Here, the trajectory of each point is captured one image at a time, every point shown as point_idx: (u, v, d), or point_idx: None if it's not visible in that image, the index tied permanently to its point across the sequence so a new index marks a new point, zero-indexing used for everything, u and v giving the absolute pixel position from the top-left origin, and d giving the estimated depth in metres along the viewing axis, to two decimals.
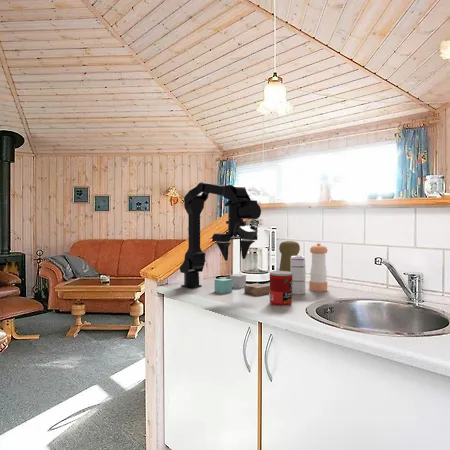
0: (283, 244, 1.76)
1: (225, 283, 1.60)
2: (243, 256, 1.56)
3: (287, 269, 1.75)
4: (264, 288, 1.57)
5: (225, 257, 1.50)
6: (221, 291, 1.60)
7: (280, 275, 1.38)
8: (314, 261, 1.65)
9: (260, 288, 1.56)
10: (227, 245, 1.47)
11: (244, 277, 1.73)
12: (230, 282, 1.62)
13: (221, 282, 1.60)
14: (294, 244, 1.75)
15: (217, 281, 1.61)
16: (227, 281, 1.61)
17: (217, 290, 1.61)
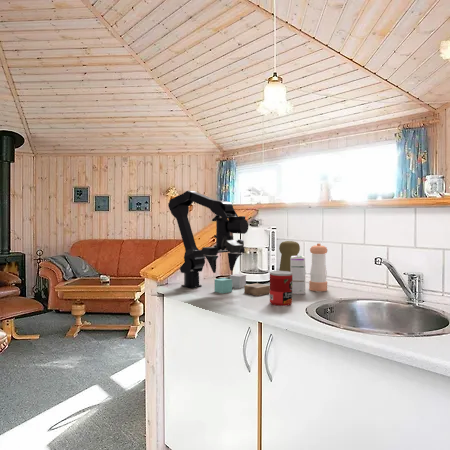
0: (283, 244, 1.76)
1: (225, 283, 1.60)
2: (231, 268, 1.65)
3: (287, 269, 1.75)
4: (264, 288, 1.57)
5: (213, 269, 1.59)
6: (221, 291, 1.60)
7: (280, 275, 1.38)
8: (314, 261, 1.65)
9: (260, 288, 1.56)
10: (215, 258, 1.57)
11: (244, 277, 1.73)
12: (230, 282, 1.62)
13: (221, 282, 1.60)
14: (294, 244, 1.75)
15: (217, 281, 1.61)
16: (227, 281, 1.61)
17: (217, 290, 1.61)
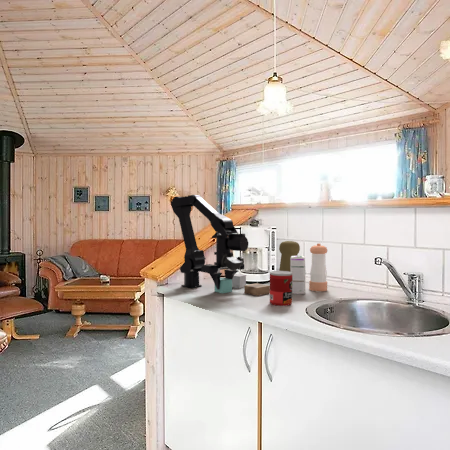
0: (283, 244, 1.76)
1: (225, 283, 1.60)
2: None
3: (287, 269, 1.75)
4: (264, 288, 1.57)
5: (217, 286, 1.60)
6: (221, 291, 1.60)
7: (280, 275, 1.38)
8: (314, 261, 1.65)
9: (260, 288, 1.56)
10: (219, 275, 1.58)
11: (244, 277, 1.73)
12: (230, 282, 1.62)
13: (220, 281, 1.60)
14: (294, 244, 1.75)
15: None
16: (227, 281, 1.61)
17: (217, 290, 1.61)
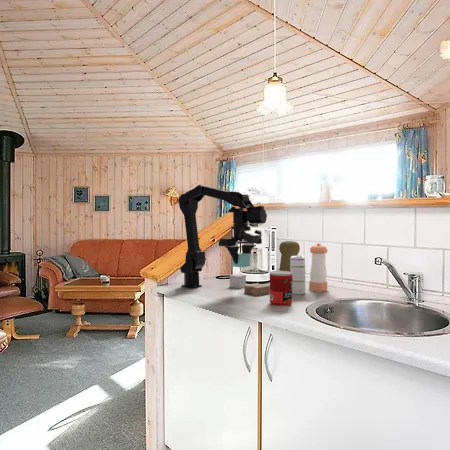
0: (283, 244, 1.76)
1: (243, 257, 1.58)
2: None
3: (287, 269, 1.75)
4: (264, 288, 1.57)
5: (235, 260, 1.58)
6: (239, 265, 1.57)
7: (280, 275, 1.38)
8: (314, 261, 1.65)
9: (260, 288, 1.56)
10: (237, 249, 1.56)
11: (244, 277, 1.73)
12: (248, 256, 1.59)
13: (238, 255, 1.58)
14: (294, 244, 1.75)
15: None
16: (245, 255, 1.58)
17: (235, 264, 1.59)
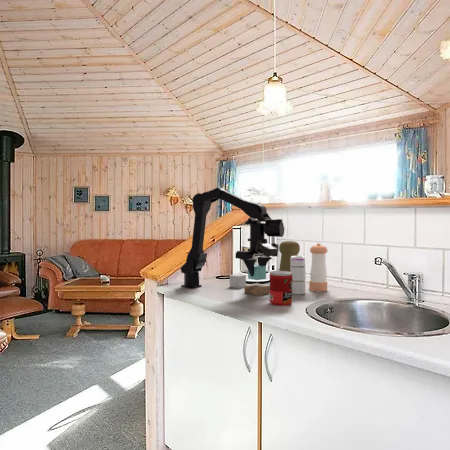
0: (283, 244, 1.76)
1: (259, 269, 1.57)
2: None
3: (287, 269, 1.75)
4: (264, 288, 1.57)
5: (251, 273, 1.57)
6: (255, 278, 1.57)
7: (280, 275, 1.38)
8: (314, 261, 1.65)
9: (260, 288, 1.56)
10: (253, 262, 1.55)
11: (244, 277, 1.73)
12: (264, 269, 1.59)
13: (255, 268, 1.57)
14: (294, 244, 1.75)
15: None
16: (261, 267, 1.58)
17: (251, 277, 1.58)
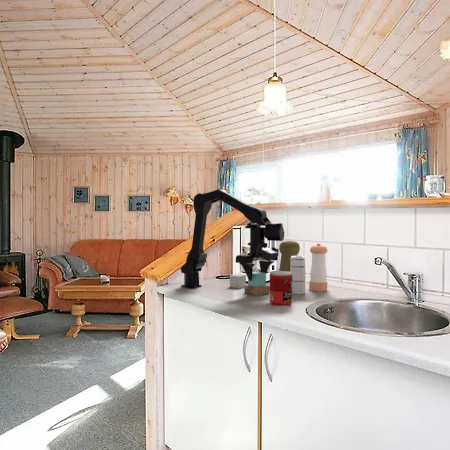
0: (283, 244, 1.76)
1: (259, 276, 1.57)
2: None
3: (287, 269, 1.75)
4: (264, 288, 1.57)
5: (249, 277, 1.57)
6: (255, 285, 1.57)
7: (280, 275, 1.38)
8: (314, 261, 1.65)
9: (260, 288, 1.56)
10: (251, 266, 1.54)
11: (244, 277, 1.73)
12: (264, 276, 1.59)
13: (255, 275, 1.57)
14: (294, 244, 1.75)
15: None
16: (261, 274, 1.58)
17: (251, 284, 1.58)
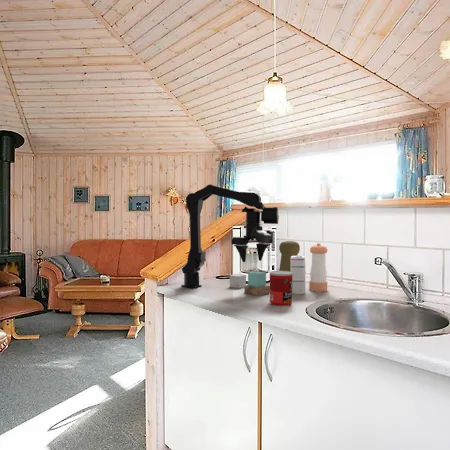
0: (283, 244, 1.76)
1: (259, 276, 1.57)
2: (259, 258, 1.69)
3: (287, 269, 1.75)
4: (264, 288, 1.57)
5: (243, 259, 1.63)
6: (255, 285, 1.57)
7: (280, 275, 1.38)
8: (314, 261, 1.65)
9: (260, 288, 1.56)
10: (245, 248, 1.61)
11: (244, 277, 1.73)
12: (264, 276, 1.59)
13: (255, 275, 1.57)
14: (294, 244, 1.75)
15: (251, 274, 1.58)
16: (261, 274, 1.58)
17: (251, 284, 1.58)
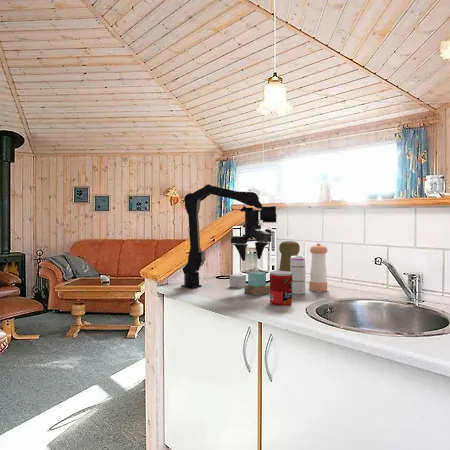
0: (283, 244, 1.76)
1: (259, 276, 1.57)
2: (258, 257, 1.72)
3: (287, 269, 1.75)
4: (264, 288, 1.57)
5: (243, 257, 1.65)
6: (255, 285, 1.57)
7: (280, 275, 1.38)
8: (314, 261, 1.65)
9: (260, 288, 1.56)
10: (244, 247, 1.63)
11: (244, 277, 1.73)
12: (264, 276, 1.59)
13: (255, 275, 1.57)
14: (294, 244, 1.75)
15: (251, 274, 1.58)
16: (261, 274, 1.58)
17: (251, 284, 1.58)
